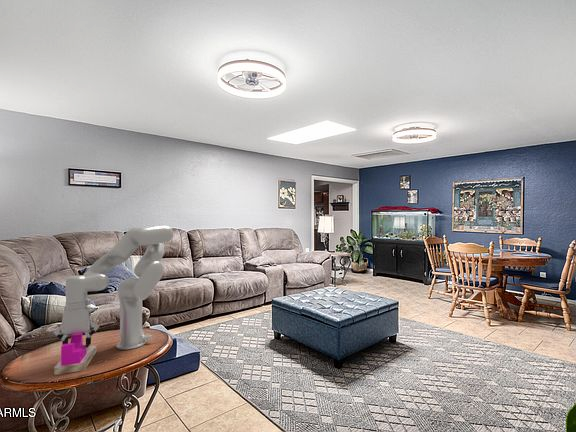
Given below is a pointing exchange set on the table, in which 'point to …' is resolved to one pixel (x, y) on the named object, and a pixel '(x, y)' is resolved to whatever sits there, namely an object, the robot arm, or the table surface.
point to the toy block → (73, 350)
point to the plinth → (76, 367)
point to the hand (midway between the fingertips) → (76, 347)
